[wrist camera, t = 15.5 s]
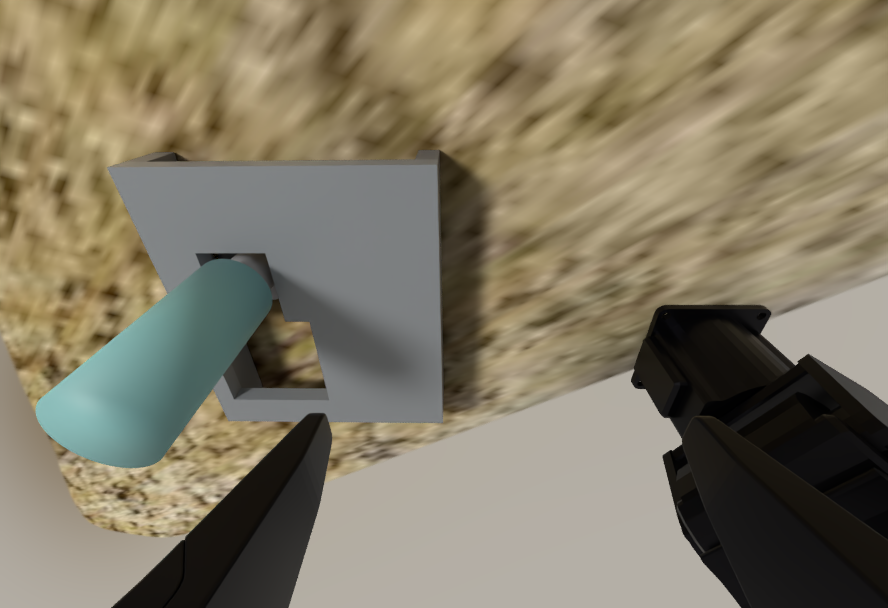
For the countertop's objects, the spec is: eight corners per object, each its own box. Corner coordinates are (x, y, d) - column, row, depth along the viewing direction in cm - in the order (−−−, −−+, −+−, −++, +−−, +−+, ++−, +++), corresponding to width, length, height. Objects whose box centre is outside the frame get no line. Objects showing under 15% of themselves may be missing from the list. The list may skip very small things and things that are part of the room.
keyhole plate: (439, 149, 18) (437, 164, 16) (443, 388, 27) (442, 423, 24) (153, 152, 19) (107, 167, 16) (249, 387, 27) (228, 420, 25)
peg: (296, 220, 20) (141, 380, 10) (313, 290, 23) (200, 476, 13) (215, 220, 20) (-16, 378, 10) (240, 290, 23) (71, 474, 13)
